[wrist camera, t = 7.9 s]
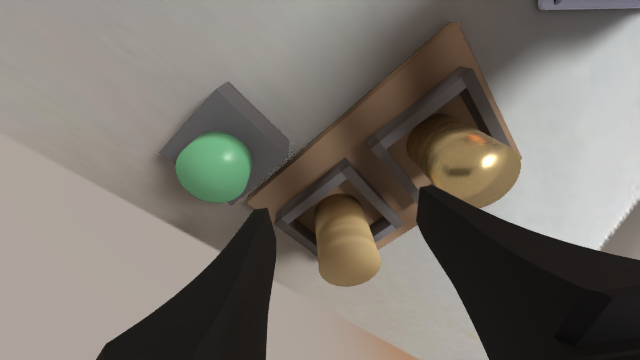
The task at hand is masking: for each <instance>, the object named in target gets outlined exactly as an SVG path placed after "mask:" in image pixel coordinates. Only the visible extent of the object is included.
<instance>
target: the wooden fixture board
mask: <svg viewBox="0 0 640 360" xmlns="http://www.w3.org/2000/svg"><path fill="white" fill-rule="evenodd" d="M436 114H446V115H450V116H452V117H454V118H456V119H458V120H460V121H461V122H463V123H465V124H467V125H469V126H471V127H473V128H475V129H477V130H479V131H480V132H482V133H484V134H486V135H488V136H490V137H492V138H494V139H496V140H498V141H499V142H501V143H503V144H505V145H507V146H509V147H511V148H512V149H514V150H515V151H516V152H517V154H518V155H519V157H520V160H521V159H522V157H521V155H520V153H519V151H518V149H517V147H516V144H515V142H514V140H513V138H512V136H511V134H510V132H509V130H508V128H507V125H506V123H505V121H504V119H503V117H502V115H501V113H500V111H499V109H498V106H497V104H496V102H495V100H494V98H493V96H492V94H491V92H490V89H489V87H488V85H487V83H486V81H485V79H484V77H483V75H482V73H481V70H480V68H479V66H478V64H477V62H476V60H475V58H474V56H473V54H472V51H471V49H470V47H469V45H468V43H467V41H466V39H465V37H464V35H463V32H462V30H461V28H460V26H459V24H458V22H454V23H449V24H448V25H446V26H445V27H444V28H443V29H442V30H441V31H439V32H438V33H437V34H436V35H435V36H434V37H432V38H431V39H430V40H429V41H428V42H427V43H426V44H424V45H423V46H422V47H421V48H420V49H419V50H417V51H416V52H415V53H414V54H413V55H412V56H410V57H409V58H408V59H407V60H406V61H405V62H404V63H402V64H401V65H400V66H399V67H398V68H397V69H395V70H394V71H393V72H392V73H391V74H390V75H388V76H387V77H386V78H385V79H384V80H383V81H382V82H380V83H379V84H378V85H377V86H376V87H375V88H373V89H372V90H371V91H370V92H369V93H368V94H366V95H365V96H364V97H363V98H362V99H361V100H360V101H358V102H357V103H356V104H355V105H354V106H353V107H351V108H350V109H349V110H348V111H347V112H346V113H344V114H343V115H342V116H341V117H340V118H339V119H338V120H336V121H335V122H334V123H333V124H332V125H331V126H329V127H328V128H327V129H326V130H325V131H324V132H322V133H321V134H320V135H319V136H318V137H317V138H316V139H314V140H313V141H312V142H311V143H310V144H309V145H307V146H306V147H305V148H304V149H303V150H302V151H300V152H299V153H298V154H297V155H296V156H295V157H294V158H292V159H291V160H290V161H289V162H288V163H287V164H285V165H284V166H283V167H282V168H281V169H280V170H278V171H277V172H276V173H275V174H274V175H273V176H272V177H270V178H269V179H268V180H267V181H266V182H265V183H263V184H262V185H261V186H260V187H259V188H258V189H256V190H255V191H254V192H253V193H252V194H251V195H250V196H248V199H247V204H249V205H250V206H251V207H253V208H254V209H262V208H268V211H269V215H270V219H271V222H273V223H274V224H275V225H276V226H278V227H279V228H280V229H282V230H283V231H284V232H286V233H287V234H288V235H290V236H291V237H292V238H294V239H295V240H296V241H298V242H299V243H300V244H302V245H303V246H304V247H306V248H307V249H308V250H310V251H311V252H312V253H314V254H315V255H316V256H318V264H319V272H320V275H321V276H322V278H323V279H324V280H325V281H327V282H328V283H330V284H333V285H336V286H345V287H347V286H355V285H359V284H362V283H364V282H366V281H368V280H369V279H371V278H372V277H373V276H374V275H375V274H376V273H377V272H378V270H379V268H380V265H381V258H380V255H379V253H378V249H380V248H382V247H383V246H385V245H386V244H388V243H390V242H391V241H393V240H394V239H396V238H397V237H399V236H401V235H402V234H404V233H405V232H407V231H409V230H410V229H412V228H413V227H415V226H417V225H418V224H417V222H416V216H417V207H418V198H419V189H420V187H423V186H430V185H433V183H432V182H431V181H430V180H429V179H428V178H427V177H426V176H425V175H424V173H423V172H422V171H421V170H420V169H419V168H418V167H417V166H416V165H415V163H414V162H413V161H412V160H411V159H410V158H409V156H408V153H407V140H408V137H409V135H410V133H411V131H412V130H413V129H414V127H416V126H417V125H418V124H420V123H421V122H422V121H423V120H425V119H426V118H427V117H429V116H432V115H436ZM433 186H434V185H433Z"/></svg>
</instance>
